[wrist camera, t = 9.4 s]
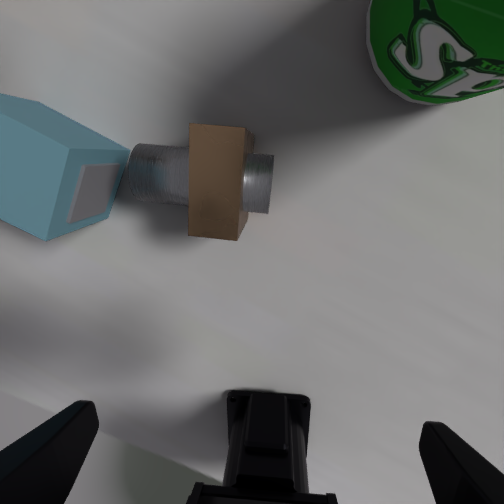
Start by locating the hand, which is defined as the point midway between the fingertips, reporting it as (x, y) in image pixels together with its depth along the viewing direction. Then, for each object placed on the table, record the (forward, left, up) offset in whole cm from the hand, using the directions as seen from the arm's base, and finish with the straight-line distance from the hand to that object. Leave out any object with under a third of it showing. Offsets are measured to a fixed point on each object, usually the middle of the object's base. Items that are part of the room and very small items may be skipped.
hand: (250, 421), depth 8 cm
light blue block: (+6, +12, -12) cm, 18 cm away
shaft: (+6, +3, -12) cm, 14 cm away
